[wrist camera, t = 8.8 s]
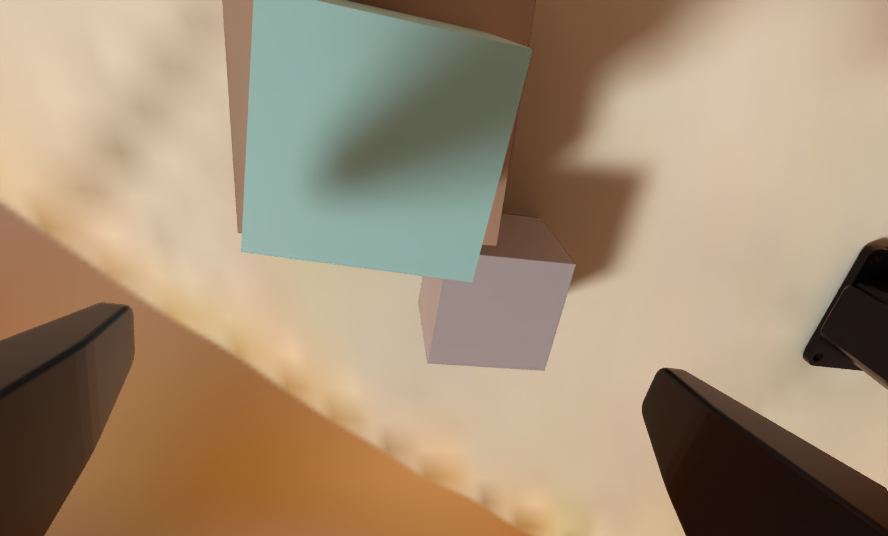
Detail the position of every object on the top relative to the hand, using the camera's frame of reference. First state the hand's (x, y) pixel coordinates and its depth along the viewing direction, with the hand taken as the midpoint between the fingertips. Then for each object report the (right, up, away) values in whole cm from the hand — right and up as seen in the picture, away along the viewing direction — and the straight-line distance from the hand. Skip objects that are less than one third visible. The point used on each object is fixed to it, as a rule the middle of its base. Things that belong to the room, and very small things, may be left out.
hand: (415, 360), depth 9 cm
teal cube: (-1, +6, +6) cm, 9 cm away
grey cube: (+2, +2, +14) cm, 14 cm away
